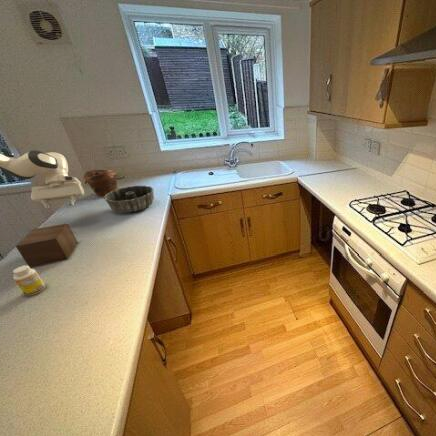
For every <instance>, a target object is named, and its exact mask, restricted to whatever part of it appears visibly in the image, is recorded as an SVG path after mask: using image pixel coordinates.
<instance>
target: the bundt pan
mask: <svg viewBox="0 0 436 436" xmlns="http://www.w3.org/2000/svg"><path fill="white" fill-rule="evenodd" d="M103 199H104V201H105V202H106V203H107V205H108V206H109V208H111V209H112V210H113V211H114V212H118V213H120V214H124V213H126V214H127V213H132V212H134V213H136V212H137V211H142V210H144V209H148V208H149V207H150V206H151V205H152V204H153V203H154V200H155V196H154V188H153V187H152V186H150V185H149V186H148V185H132V186H130V185H129V186H126V187H119V188H117V190H115V191H111V192H110V193H108V194H106V195H105V196H104V197H103Z"/></svg>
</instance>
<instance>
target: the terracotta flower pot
mask: <svg viewBox="0 0 436 436" xmlns="http://www.w3.org/2000/svg"><path fill="white" fill-rule="evenodd" d="M117 176H118V173H117V172H116V170H114V169H107V170H106V169H105V170H104V169H91V170H87V171H86V172H85V173H84V174H83V181H84V185H88V186H89V187H90V188H91V189H92V191H93V193H94V194H95V196H97V197H103V198H104V197H105V195H106V194H108V193H110V192H111V191H115V190H117V189H118V185H117V184H118V181H117Z"/></svg>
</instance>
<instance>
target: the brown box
mask: <svg viewBox="0 0 436 436" xmlns="http://www.w3.org/2000/svg"><path fill="white" fill-rule="evenodd" d="M69 225H70V224H69V223H62V224H61V223H60V224H55V225H50V226H44V227H37V228H33V229H31V230H30V231H29V232H28V233H27V234H26V235H25V236H24V237H23V238H22V239H20V240H19V242H18V243H17V244H16V245H15V248H16V250H17V251H18V252H19V254H20V256H21V257H22V258H23V261H25V264H27V266H29V267H30V268H34V267H38V266H43V265H48V264H52V263H57V262H62V261H67V260H69V258H70V256H71V255H72V253H73V252H74V250H75V248H76V247H77V245H78V243H79V242H78V239H77V237H76V235H75V233H74V231H73V230H71V229H72V228H70V227H71V226H69ZM72 231H73V232H72ZM73 233H74V234H73ZM74 235H75V236H74ZM75 237H76V238H75ZM76 239H77V240H76Z"/></svg>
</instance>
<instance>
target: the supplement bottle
mask: <svg viewBox="0 0 436 436" xmlns="http://www.w3.org/2000/svg"><path fill="white" fill-rule="evenodd" d="M12 273H13V280H14V281H15V283H16V284H17V286H18V287H19V289H20V290H21V292H23V294H24V295H25V296H34V295H36V294H39V293H41V292H42V291H43V290H45V288H46V284H45V283H44V281H43V280H42V279H41V278H42V277H40V275H39V274H38V272H37V271H36V269H34V268H31V267H29V266H28V264H27V265H22V266H21V265H20V266H19V267H16V268H14V269H13V270H12Z"/></svg>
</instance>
